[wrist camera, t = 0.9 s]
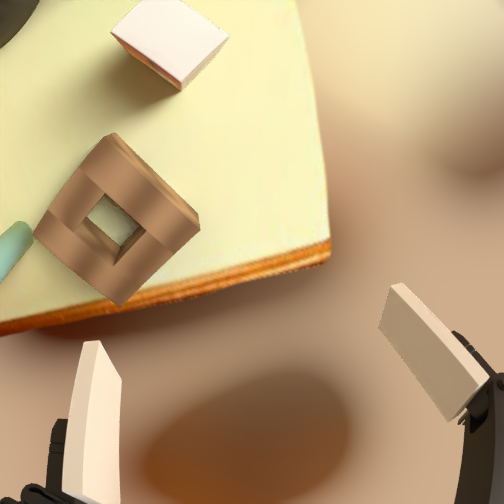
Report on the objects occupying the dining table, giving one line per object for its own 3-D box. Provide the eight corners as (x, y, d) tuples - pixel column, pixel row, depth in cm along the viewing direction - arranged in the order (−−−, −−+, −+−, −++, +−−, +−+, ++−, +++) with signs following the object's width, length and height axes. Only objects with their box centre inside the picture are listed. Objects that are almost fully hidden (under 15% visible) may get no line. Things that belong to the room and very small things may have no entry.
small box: (129, 53, 24) (106, 31, 15) (164, 18, 23) (157, -18, 14) (181, 93, 28) (180, 84, 19) (216, 57, 26) (231, 35, 17)
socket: (47, 218, 30) (32, 234, 25) (115, 132, 28) (103, 136, 23) (125, 284, 37) (120, 307, 32) (197, 213, 35) (200, 229, 30)
